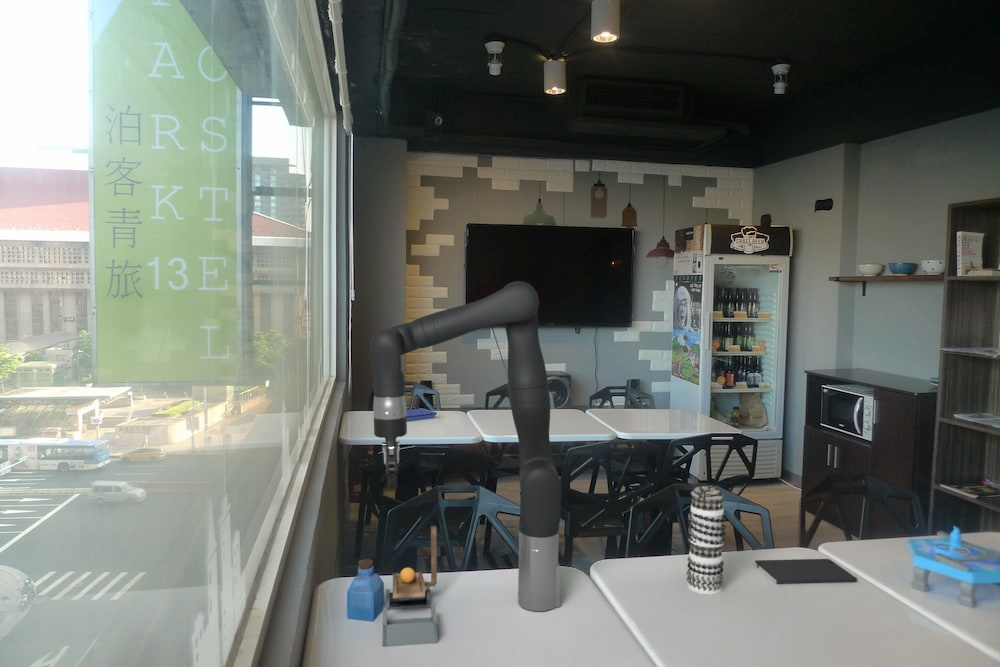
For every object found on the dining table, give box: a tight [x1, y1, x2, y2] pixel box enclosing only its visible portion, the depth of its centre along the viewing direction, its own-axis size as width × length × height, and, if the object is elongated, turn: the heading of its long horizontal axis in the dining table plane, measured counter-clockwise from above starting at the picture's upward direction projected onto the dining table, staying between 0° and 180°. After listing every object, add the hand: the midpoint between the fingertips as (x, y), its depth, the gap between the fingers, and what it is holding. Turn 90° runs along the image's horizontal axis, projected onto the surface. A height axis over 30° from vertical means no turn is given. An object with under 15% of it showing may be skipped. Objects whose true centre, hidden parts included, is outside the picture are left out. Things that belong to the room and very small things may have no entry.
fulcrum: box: [385, 587, 431, 611], centre depth 159 cm, size 10×5×3 cm, turn 99°
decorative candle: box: [686, 485, 728, 596], centre depth 169 cm, size 9×9×25 cm
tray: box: [382, 603, 439, 648], centre depth 145 cm, size 11×10×4 cm
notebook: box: [754, 558, 858, 585], centre depth 180 cm, size 13×2×21 cm
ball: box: [400, 567, 416, 583], centre depth 165 cm, size 4×4×4 cm
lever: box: [392, 525, 438, 598], centre depth 160 cm, size 10×17×14 cm, turn 9°
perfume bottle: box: [346, 558, 385, 623], centre depth 154 cm, size 6×6×12 cm
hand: (391, 483), depth 159 cm, fingers open, 8 cm apart
